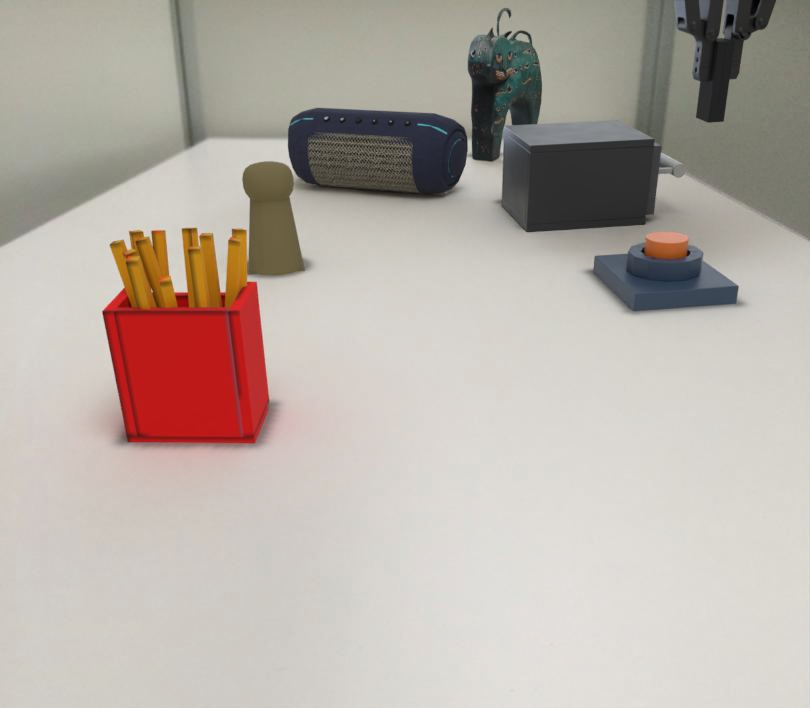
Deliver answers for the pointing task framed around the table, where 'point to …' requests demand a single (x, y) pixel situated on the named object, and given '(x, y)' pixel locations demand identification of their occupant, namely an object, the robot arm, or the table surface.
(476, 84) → the green animal figurine
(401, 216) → the table surface
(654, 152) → the drawer
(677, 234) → the button
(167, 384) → the french fries container
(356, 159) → the portable speaker
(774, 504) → the table surface
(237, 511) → the table surface
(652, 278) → the control block
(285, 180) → the cork
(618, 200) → the grey box
